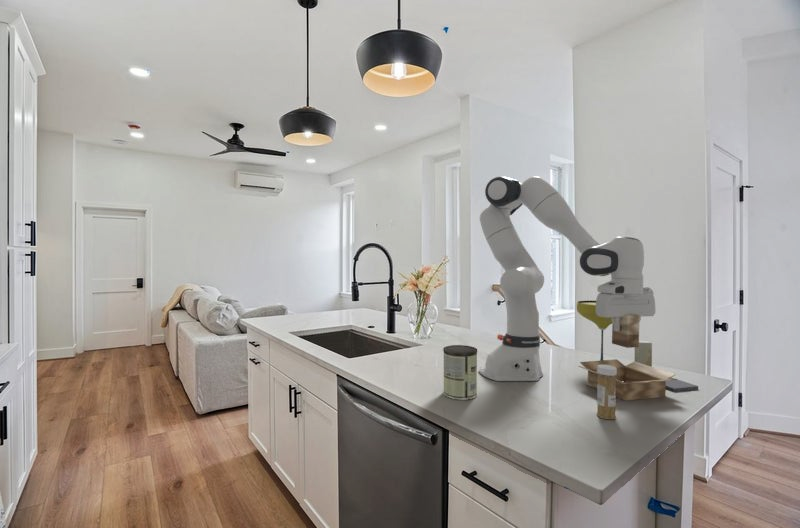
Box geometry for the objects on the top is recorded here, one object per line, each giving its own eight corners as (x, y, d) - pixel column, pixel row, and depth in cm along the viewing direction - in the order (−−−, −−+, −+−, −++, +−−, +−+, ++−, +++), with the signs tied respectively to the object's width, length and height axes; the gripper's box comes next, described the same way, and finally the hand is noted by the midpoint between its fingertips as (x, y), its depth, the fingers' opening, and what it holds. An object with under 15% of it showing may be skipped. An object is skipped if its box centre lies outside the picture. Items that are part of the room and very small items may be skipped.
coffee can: (446, 387, 127) (447, 343, 127) (479, 391, 124) (479, 346, 124) (439, 397, 118) (439, 350, 117) (474, 402, 114) (474, 353, 114)
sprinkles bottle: (617, 421, 102) (618, 369, 102) (598, 418, 103) (598, 367, 103) (613, 414, 106) (614, 364, 106) (595, 412, 108) (595, 363, 107)
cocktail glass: (616, 379, 137) (617, 307, 137) (566, 367, 151) (567, 302, 151) (637, 370, 149) (638, 303, 148) (589, 360, 163) (590, 299, 162)
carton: (624, 406, 112) (625, 383, 112) (570, 381, 134) (570, 362, 134) (687, 399, 118) (687, 377, 118) (625, 376, 140) (625, 358, 140)
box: (652, 373, 144) (652, 343, 144) (639, 372, 145) (639, 342, 145) (646, 369, 150) (646, 340, 149) (633, 368, 151) (634, 339, 150)
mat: (673, 391, 125) (673, 388, 125) (646, 381, 134) (646, 379, 134) (698, 389, 127) (698, 386, 127) (669, 379, 137) (669, 376, 137)
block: (626, 347, 122) (627, 315, 122) (611, 343, 128) (612, 312, 128) (638, 347, 123) (639, 315, 123) (623, 342, 129) (624, 312, 129)
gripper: (644, 286, 131) (643, 327, 131) (592, 286, 126) (591, 329, 126) (661, 288, 125) (660, 331, 125) (608, 288, 120) (606, 333, 120)
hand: (625, 330), depth 126 cm, fingers closed on block, 4 cm apart
